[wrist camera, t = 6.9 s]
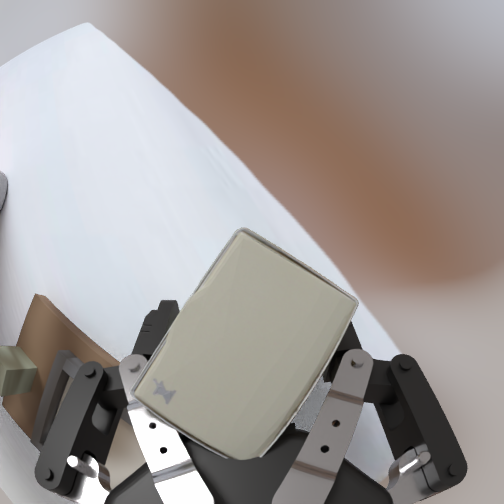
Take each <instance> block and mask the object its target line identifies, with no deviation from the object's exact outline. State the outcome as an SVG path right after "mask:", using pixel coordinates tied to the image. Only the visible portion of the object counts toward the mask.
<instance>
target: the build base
mask: <svg viewBox="0 0 504 504" xmlns="http://www.w3.org/2000/svg"><path fill="white" fill-rule="evenodd" d="M90 361H96V362H98V363H100V364H101V365H102V367H103V368H107V367H113V366H118V365H120V362H119V361H117V360H116V359H115V358H113V357H112V356H111V355H110V354H108V353H107V352H106V351H105V350H103V349H102V348H101V347H100V346H98V345H97V344H96V343H95V342H94V341H92V340H91V339H90V338H89V337H88V336H87V335H86V334H84V333H83V332H82V331H81V330H80V329H79V328H78V327H77V326H75V325H74V324H73V323H72V322H71V321H70V320H69V319H68V318H67V317H66V316H65V315H64V314H63V313H62V312H61V311H60V310H58V309H57V308H56V307H55V306H54V305H53V304H52V303H51V301H50V300H49V299H48V298H47V297H46V296H43V295H39V294H35V295H34V298H33V300H32V303H31V305H30V308H29V310H28V313H27V315H26V318H25V321H24V324H23V326H22V329H21V332H20V335H19V338H18V342H17V345H16V346H0V396H1V397H2V396H4V397H3V403H2V405H3V407H4V408H5V409H6V411H7V412H8V413H9V414H10V416H11V417H12V418H13V419H14V421H15V422H16V423H17V424H18V425H19V427H20V428H21V429H22V430H23V431H24V432H25V433H26V435H27V436H28V437H29V438H30V439H31V443H32V444H33V445H34V446H35V447H36V448H37V449H38V450H39V451H40V452H41V451H42V448H43V446H44V443H45V441H46V438H47V436H48V433H49V431H50V429H51V426H52V424H53V422H54V419H55V417H56V415H57V413H58V411H59V408H60V406H61V404H62V402H63V400H64V398H65V396H66V394H67V392H68V390H69V388H70V386H71V384H72V382H73V380H74V378H75V376H76V374H77V372H78V370H79V368H80V367H81V366H82V365H83V364H85V363H87V362H90ZM145 462H146V458H145V456H144V454H143V451H142V449H141V446H140V444H139V441H138V438H137V436H136V433H135V430H134V427H133V424H132V422H131V419H130V416H129V413H128V409H127V408H124V409H123V412H122V415H121V418H120V421H119V424H118V427H117V429H116V432H115V435H114V438H113V442H112V445H111V448H110V451H109V454H108V457H107V461H106V464H105V467H106V468H107V469H108V471H109V473H110V487H111V489H114V488H115V487H116V486H117V485H119V484H120V483H121V482H122V481H124V480H125V479H126V478H127V477H129V476H130V475H131V474H132V473H133V472H135V471H136V470H137V469H138V468H139V467H141V466H142V465H143V464H144V463H145Z"/></svg>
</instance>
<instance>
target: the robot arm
mask: <svg viewBox="0 0 504 504" xmlns="http://www.w3.org/2000/svg"><path fill="white" fill-rule="evenodd" d="M6 191H7V178H6V176H5V174H4V173H2V172H1V171H0V210H1V208H2V205H3V202H4V199H5V195H6ZM179 312H180V311H179V307H178V303H177V301H176V300H161V302H160V304H159V307H158V310H152V311H151V312H150V313H149V314H148V315H147V316H146V317H145V319H144V322H143V326H142V327H141V330H140V332H139V335H138V338H137V340H136V343H135V346H134V349H133V351H132V354H131V355H129V356H127V357H125V358H124V359H123V360H122V361H121V363H120V365H118V366H113V367H107V368H103V367H102V365H101V364H100V363H98V362H96V361H90V362H87V363H85V364H83V365H82V366H81V367H80V368H79V370H78V372H77V374H76V376H75V378H74V380H73V382H72V384H71V386H70V388H69V390H68V392H67V394H66V396H65V398H64V400H63V402H62V404H61V406H60V408H59V411H58V413H57V415H56V417H55V419H54V422H53V424H52V426H51V429H50V431H49V433H48V436H47V438H46V441H45V443H44V446H43V448H42V451H41V453H40V456H39V459H38V461H37V464H36V467H35V477H36V480H37V482H38V483H39V484H40V485H41V486H42V487H44V488H45V489H47V490H50V491H52V492H53V493H55V494H56V495H59V496H61V497H63V498H66V499H68V500H70V501H74V502H77V503H80V504H413V503H416V502H417V501H421V500H424V499H427V498H429V497H431V496H434V495H436V494H438V493H440V492H443V491H444V490H447V489H449V488H451V487H453V486H455V485H457V484H459V483H460V482H461V481H462V480H463V479H464V477H465V476H466V473H467V463H466V460H465V458H464V455H463V453H462V450H461V448H460V446H459V444H458V441H457V439H456V437H455V435H454V433H453V430H452V428H451V426H450V424H449V422H448V420H447V418H446V416H445V414H444V412H443V410H442V408H441V406H440V404H439V402H438V400H437V398H436V396H435V394H434V393H433V391H432V389H431V387H430V385H429V383H428V382H427V379H426V378H425V376H424V374H423V372H422V371H421V369H420V367H419V365H418V363H417V362H416V360H415V359H414V358H412V357H411V356H409V355H405V354H400V355H396V356H395V357H394V358H393V359H392V360H391V361H383V360H376V359H373V358H372V357H371V355H370V354H369V353H367V352H366V351H364V350H363V349H362V347H361V344H360V342H359V339H358V337H357V334H356V332H355V329H354V327H353V324H352V322H350V324H349V326H348V328H347V330H346V332H345V334H344V336H343V338H342V340H341V342H340V344H339V346H338V348H337V350H336V351H335V353H334V355H333V357H332V358H331V360H330V362H329V364H328V366H327V367H326V369H325V371H324V372H323V374H322V375H323V379H324V382H331V384H332V386H331V388H330V390H329V392H328V394H327V396H326V399H325V401H324V403H323V405H322V408H321V410H320V412H319V414H318V416H317V419H316V421H315V423H314V425H313V427H312V429H311V431H310V432H307V431H304V430H300V429H295V423H290V424H289V425H288V427H287V428H286V429H285V430H284V432H283V433H282V434H281V436H280V437H279V438H278V439H277V440H276V442H275V443H274V444H273V445H272V446H271V447H270V449H269V450H268V451H267V452H266V453H265V454H264V455H263V456H262V457H255V458H251V459H246V460H237V459H233V458H224V457H221V456H220V455H218V454H216V453H214V452H212V451H210V450H208V449H206V448H205V447H203V446H201V445H199V444H198V443H196V442H194V441H193V440H191V439H190V438H188V437H187V436H185V435H183V434H182V433H180V432H179V431H177V430H176V429H174V428H173V427H171V426H170V425H168V424H167V423H166V422H164V421H163V420H162V419H160V418H159V417H157V416H156V415H155V414H153V413H152V412H151V411H150V410H148V409H147V408H146V407H145V406H143V405H142V404H140V403H139V402H138V401H137V400H135V399H134V398H133V397H132V396H131V394H130V391H131V388H132V387H133V385H134V384H135V382H136V381H137V379H138V378H139V376H140V374H141V372H142V371H143V369H144V368H145V366H146V364H147V363H148V361H149V360H150V358H151V356H152V355H153V353H154V352H155V350H156V349H157V347H158V346H159V344H160V342H161V341H162V339H163V338H164V336H165V335H166V333H167V331H168V330H169V328H170V327H171V325H172V323H173V322H174V320H175V319H176V317H177V315H178V314H179ZM364 402H368V403H374V406H375V408H376V411H377V413H378V416H379V419H380V421H381V424H382V426H383V429H384V432H385V434H386V437H387V440H388V442H389V445H390V448H391V451H392V454H393V456H394V459H395V461H394V462H393V463H392V465H391V466H390V468H389V484H388V486H387V488H386V489H385V488H384V487H383V486H381V485H380V484H378V483H377V482H376V481H374V480H373V479H371V478H370V477H369V476H367V475H366V474H365V473H363V472H362V471H361V470H359V469H358V468H357V467H356V466H354V465H353V464H352V463H350V462H349V461H348V460H347V459H345V458H344V456H345V454H346V451H347V449H348V446H349V444H350V441H351V438H352V436H353V433H354V430H355V428H356V425H357V422H358V419H359V416H360V413H361V410H362V407H363V403H364ZM124 408H127V409H128V413H129V416H130V419H131V422H132V424H133V427H134V430H135V433H136V436H137V438H138V441H139V444H140V446H141V449H142V451H143V454H144V456H145V458H146V462H145V463H144V464H143V465H142V466H141V467H139V468H138V469H137V470H136V471H135V472H133V473H132V474H131V475H130V476H129V477H127V478H126V479H125V480H124V481H122V482H121V483H120V484H119V485H117V486H116V487H115V488H114V489H111V487H110V473H109V471H108V469H107V468H106V467H105V464H106V461H107V457H108V454H109V451H110V448H111V445H112V442H113V438H114V435H115V432H116V429H117V427H118V424H119V421H120V418H121V415H122V412H123V409H124Z"/></svg>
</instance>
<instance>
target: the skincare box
mask: <svg viewBox="0 0 504 504" xmlns="http://www.w3.org/2000/svg"><path fill="white" fill-rule="evenodd" d="M358 304H359V302H358V300H357V299H356V298H355V297H354V296H352V295H350V294H349V293H347V292H346V291H344V290H343V289H341V288H340V287H338V286H337V285H336V284H334V283H333V282H331V281H330V280H328V279H327V278H325V277H324V276H322V275H321V274H319V273H318V272H317V271H315V270H313V269H312V268H311V267H309V266H307V265H306V264H304V263H303V262H301V261H299V260H298V259H296V258H295V257H293V256H292V255H290V254H289V253H287V252H286V251H284V250H283V249H281V248H279V247H278V246H276V245H275V244H273V243H271V242H270V241H268V240H266V239H265V238H263V237H261V236H260V235H258V234H256V233H255V232H253V231H251V230H250V229H248V228H240V229H238V230H236V231H235V232H234V234H233V235H232V237H231V238H230V240H229V241H228V242H227V244H226V245H225V247H224V248H223V249H222V251H221V252H220V254H219V255H218V257H217V258H216V259H215V261H214V262H213V264H212V265H211V267H210V268H209V270H208V271H207V273H206V274H205V275H204V277H203V278H202V280H201V281H200V283H199V284H198V286H197V288H196V289H195V290H194V292H193V293H192V294H191V296H190V297H189V299H188V300H187V302H186V303H185V305H184V307H183V308H182V309H181V311H180V312H179V314H178V315H177V317H176V319H175V320H174V322H173V323H172V325H171V327H170V328H169V330H168V331H167V333H166V335H165V336H164V338H163V339H162V341H161V342H160V344H159V346H158V347H157V349H156V350H155V352H154V353H153V355H152V356H151V358H150V360H149V361H148V363H147V364H146V366H145V368H144V369H143V371H142V372H141V374H140V376H139V378H138V379H137V381H136V382H135V384H134V385H133V387H132V388H131V391H130V394H131V396H132V397H133V398H134V399H135V400H137V401H138V402H139V403H140V404H142V405H143V406H145V407H146V408H147V409H148V410H150V411H151V412H152V413H153V414H155V415H156V416H157V417H159V418H160V419H162V420H163V421H164V422H166V423H167V424H168V425H170V426H171V427H173V428H174V429H176V430H177V431H179V432H180V433H182V434H183V435H185V436H187V437H188V438H190V439H191V440H193V441H194V442H196V443H198V444H199V445H201V446H203V447H205V448H206V449H208V450H210V451H212V452H214V453H216V454H218V455H220V456H221V457H224V458H233V459H237V460H246V459H251V458H255V457H262V456H263V455H264V454H265V453H266V452H267V451H268V450H269V449H270V447H271V446H272V445H273V444H274V443H275V442H276V440H277V439H278V438H279V437H280V436H281V434H282V433H283V432H284V430H285V429H286V428H287V427H288V425H289V424H290V423H291V421H292V420H293V418H294V417H295V416H296V414H297V413H298V411H299V410H300V408H301V407H302V405H303V404H304V402H305V401H306V400H307V398H308V396H309V395H310V393H311V392H312V390H313V389H314V387H315V386H316V384H317V382H318V381H319V379H320V377H321V376H322V374H323V372H324V371H325V369H326V367H327V366H328V364H329V362H330V360H331V358H332V357H333V355H334V353H335V351H336V350H337V348H338V346H339V344H340V342H341V340H342V338H343V336H344V334H345V332H346V330H347V328H348V326H349V324H350V322H351V319H352V317H353V315H354V313H355V311H356V309H357V307H358Z"/></svg>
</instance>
